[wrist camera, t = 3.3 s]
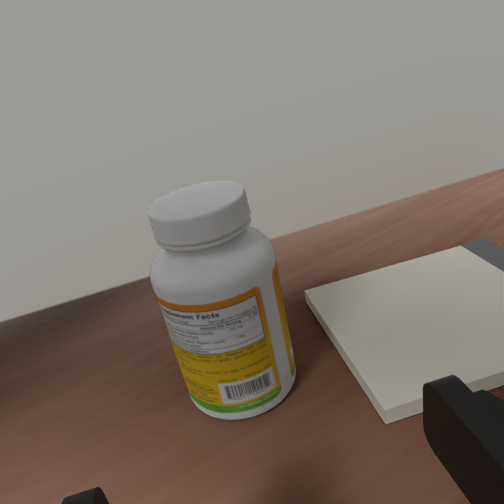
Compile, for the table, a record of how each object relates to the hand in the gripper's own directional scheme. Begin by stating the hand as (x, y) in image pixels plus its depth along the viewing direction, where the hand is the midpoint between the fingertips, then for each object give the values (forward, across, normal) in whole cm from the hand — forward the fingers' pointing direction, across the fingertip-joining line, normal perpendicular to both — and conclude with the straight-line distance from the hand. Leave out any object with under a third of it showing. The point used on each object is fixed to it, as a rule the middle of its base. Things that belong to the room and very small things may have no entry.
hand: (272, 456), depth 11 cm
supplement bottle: (+10, 0, +6) cm, 11 cm away
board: (+10, -11, +6) cm, 16 cm away
